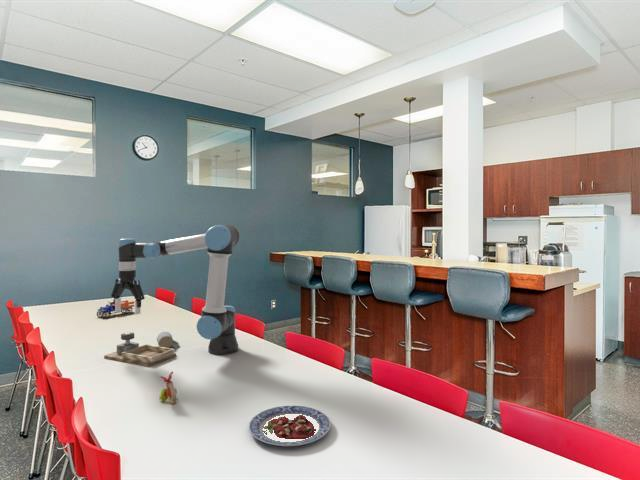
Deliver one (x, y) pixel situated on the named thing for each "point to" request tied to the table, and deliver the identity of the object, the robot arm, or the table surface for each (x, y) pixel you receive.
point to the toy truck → (110, 308)
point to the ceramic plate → (289, 425)
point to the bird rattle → (168, 390)
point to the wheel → (127, 337)
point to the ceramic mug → (166, 340)
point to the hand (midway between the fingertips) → (127, 312)
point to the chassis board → (141, 354)
